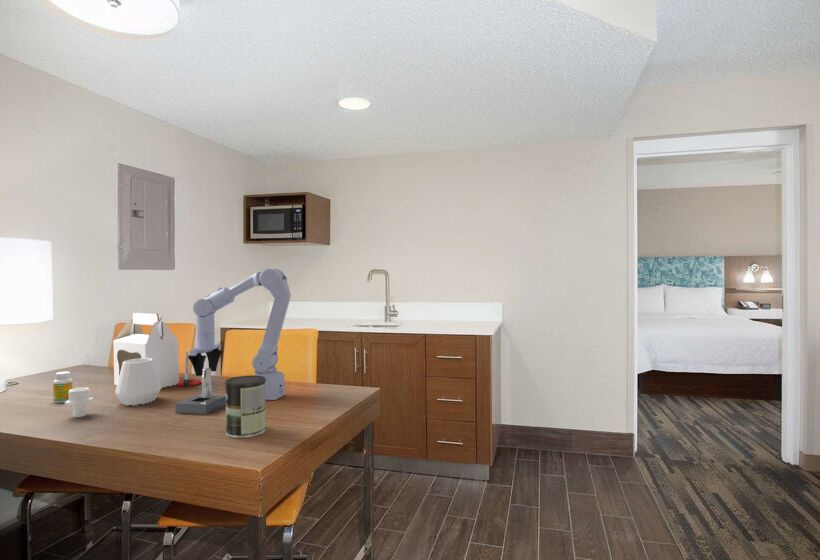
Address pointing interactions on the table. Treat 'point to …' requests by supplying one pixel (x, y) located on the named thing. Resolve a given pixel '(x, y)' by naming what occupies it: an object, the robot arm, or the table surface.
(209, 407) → the clevis block
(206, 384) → the pin
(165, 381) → the gable box
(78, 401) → the pipe fitting
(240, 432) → the coffee can
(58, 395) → the supplement bottle
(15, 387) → the table surface
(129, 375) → the cup
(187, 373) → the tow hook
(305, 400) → the table surface
